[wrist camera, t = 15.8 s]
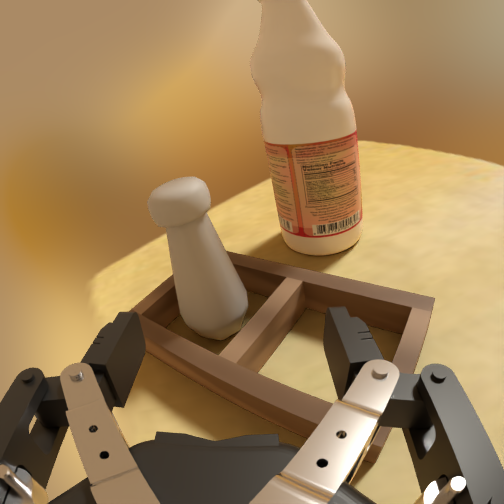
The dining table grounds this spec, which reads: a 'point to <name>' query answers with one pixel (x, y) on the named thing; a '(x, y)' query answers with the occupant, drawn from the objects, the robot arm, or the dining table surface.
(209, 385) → the caddy
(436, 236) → the dining table surface
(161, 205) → the salt shaker
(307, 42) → the fruit juice
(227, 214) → the dining table surface
